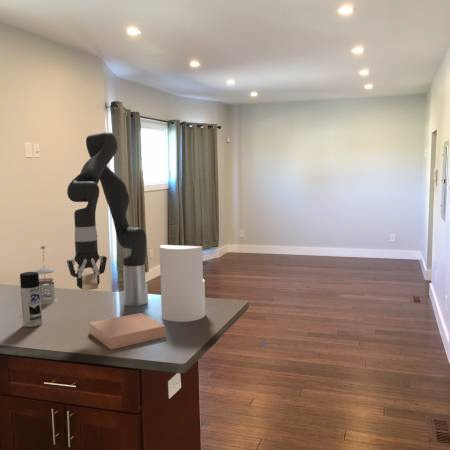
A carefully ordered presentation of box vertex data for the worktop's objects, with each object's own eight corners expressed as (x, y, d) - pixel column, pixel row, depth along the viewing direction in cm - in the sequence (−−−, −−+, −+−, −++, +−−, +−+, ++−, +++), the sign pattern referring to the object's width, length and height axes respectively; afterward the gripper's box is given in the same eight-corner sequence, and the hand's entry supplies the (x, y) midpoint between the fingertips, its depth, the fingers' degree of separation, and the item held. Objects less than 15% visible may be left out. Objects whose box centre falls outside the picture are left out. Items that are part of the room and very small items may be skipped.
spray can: (30, 328, 187) (27, 275, 185) (19, 326, 190) (15, 273, 188) (45, 323, 192) (42, 272, 190) (34, 321, 196) (31, 270, 194)
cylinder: (194, 323, 190) (193, 250, 187) (153, 319, 196) (151, 248, 193) (211, 311, 206) (210, 243, 203) (173, 307, 212) (171, 241, 209)
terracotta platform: (141, 322, 192) (140, 312, 191) (165, 337, 175) (165, 325, 175) (89, 333, 180) (89, 322, 180) (110, 349, 164) (110, 337, 163)
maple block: (93, 285, 181) (92, 272, 180) (97, 288, 177) (97, 274, 176) (79, 287, 178) (78, 273, 178) (83, 290, 174) (82, 276, 174)
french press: (53, 304, 221) (50, 247, 218) (26, 304, 221) (23, 248, 218) (60, 298, 231) (57, 244, 228) (35, 298, 231) (32, 244, 228)
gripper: (102, 236, 183) (104, 282, 185) (62, 239, 175) (64, 287, 177) (109, 238, 176) (111, 286, 178) (68, 242, 169) (71, 292, 171)
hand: (88, 286), depth 178 cm, fingers closed on maple block, 5 cm apart
